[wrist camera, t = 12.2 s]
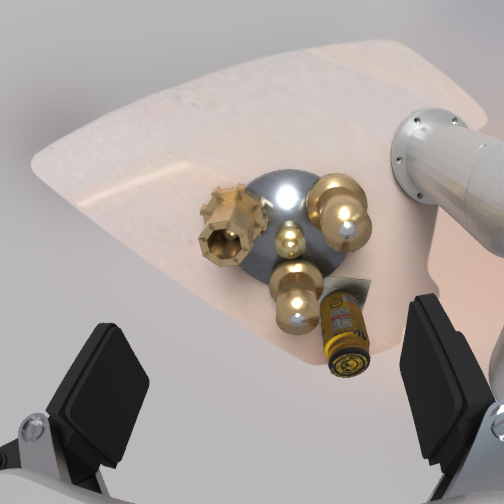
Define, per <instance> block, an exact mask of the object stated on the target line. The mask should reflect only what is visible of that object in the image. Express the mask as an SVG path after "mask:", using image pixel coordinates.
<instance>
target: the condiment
mask: <svg viewBox="0 0 504 504" xmlns="http://www.w3.org/2000/svg"><path fill="white" fill-rule="evenodd" d="M323 283H324V289H323V293H322V295H321V297H320V298H319V299H318V300H317V301H318V309H319V317H320V319H319V323H321V327H322V335H323V345H324V352H325V355H326V357H327V360H328V363H329V364H328V366H329V369H330V370H331V373H332V374H334V375H336V376H338V377H342V378H350V377H353V376H357V375H359V374H361V373H362V372H364V371H365V370H366V369H367V367H368V366H369V363H370V356H369V345H370V343H369V338H368V334H367V331H366V327H365V323H364V319H363V316H362V309H363V306H364V303H365V300H366V297H367V293H368V290H369V287H370V283H371V280H364V279H353V278H343V277H342V278H336V277H325V278H323ZM334 288H335V289H334ZM332 290H333V291H332ZM357 296H358V297H357Z"/></svg>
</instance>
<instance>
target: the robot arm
mask: <svg viewBox="0 0 504 504" xmlns="http://www.w3.org/2000/svg"><path fill="white" fill-rule="evenodd" d="M415 118H416V122H414V119H415ZM452 119H453V121H452ZM398 157H399V160H397V161H396V159H397V158H398ZM391 162H392V167H393V172H394V174H395V177H396V179H397V181H398V183H399V184H400V186H401V187H402V189H403V190H404V191H405V192H406V193H407V194H408V195H409V196H411V197H412V198H413V199H415V200H416V201H418V202H421V203H424V204H427V205H439V206H440V207H442V208H443V209H444V210H445V211H446V212H447V213H448V214H449V215H450V216H451V217H453V218H454V219H455V220H456V221H457V222H458V223H459V224H460V225H461V226H462V227H463V228H464V229H465V230H466V231H468V232H469V233H470V234H471V235H472V236H473V237H474V238H475V239H476V240H477V241H478V242H479V243H480V244H481V245H482V246H483V247H484V248H486V249H487V250H488V251H489V252H491V253H492V254H494V255H496V256H499V257H502V258H504V141H503V140H500V139H498V138H495V137H492V136H489V135H486V134H483V133H480V132H477V131H474V130H471V129H469V128H468V127H467V125H466V124H465V122H464V121H463V120H462V119H460V118H459V117H458V116H457V115H455V114H454V113H452V112H450V111H447V110H444V109H440V108H426V109H421V110H419V111H417V112H414V113H413V114H411V115H410V116H409V117H407V118H406V119H405V121H404V122H403V123H402V124H401V125H400V127H399V129H398V130H397V132H396V134H395V137H394V140H393V144H392V150H391ZM418 193H419V194H418ZM417 194H418V195H417ZM400 372H401V376H402V379H403V382H404V385H405V389H406V393H407V396H408V400H409V403H410V407H411V411H412V415H413V419H414V423H415V427H416V431H417V435H418V440H419V444H420V448H421V453H422V456H423V458H424V459H428V460H429V465H430V466H431V465H434V464H438V463H440V466H441V471H442V473H443V475H442V477H441V479H440V480H439V482H438V484H437V485H436V487H435V489H434V491H433V492H432V494H431V496H430V497H429V499H428V500H427V502H426V503H423V504H504V326H503V329H502V331H501V334H500V336H499V338H498V340H497V343H496V345H495V347H494V350H493V353H492V356H491V359H490V364H489V382H490V387H491V390H492V392H491V390H490V387H489V385H488V383H487V381H486V378H485V376H484V374H483V372H482V370H481V368H480V366H479V364H478V362H477V360H476V358H475V356H474V354H473V352H472V350H471V348H470V346H469V344H468V343H467V341H466V339H465V337H464V335H463V334H462V333H461V332H459V331H455V329H454V327H453V325H452V323H451V322H450V320H449V318H448V316H447V314H446V313H445V311H444V309H443V307H442V306H441V304H440V302H439V300H438V299H437V297H436V295H435V294H433V293H431V294H425V295H420V296H416V297H415V300H414V301H413V302H410V304H409V311H408V317H407V324H406V330H405V336H404V342H403V347H402V352H401V357H400ZM148 388H149V378H148V376H147V374H146V373H145V371H144V369H143V368H142V366H141V364H140V362H139V361H138V359H137V357H136V356H135V354H134V352H133V350H132V349H131V347H130V345H129V343H128V341H127V339H126V338H125V336H124V334H123V332H122V330H121V329H120V328H119V327H117V325H116V324H114V323H100V324H98V325H97V326H96V328H95V329H94V331H93V333H92V334H91V335H90V337H89V338H88V340H87V341H86V343H85V345H84V346H83V348H82V349H81V351H80V353H79V354H78V356H77V357H76V359H75V361H74V362H73V364H72V366H71V367H70V369H69V371H68V372H67V374H66V375H65V377H64V379H63V381H62V382H61V384H60V386H59V387H58V389H57V391H56V393H55V394H54V396H53V398H52V400H51V401H50V403H49V405H48V407H47V408H46V412H47V413H48V414H49V415H50V416H49V418H47V417H46V416H45V415H44V414H42V413H34V414H31V415H30V416H28V417H27V418H26V419H25V420H24V421H23V422H22V423H21V425H20V427H19V431H18V438H17V439H15V440H13V441H12V442H10V443H8V444H5V445H3V446H1V447H0V504H133V503H129V502H126V501H122V500H119V499H115V498H112V497H110V495H109V493H108V490H107V488H106V485H105V483H104V480H103V478H102V475H101V472H100V469H99V467H100V464H102V465H103V466H106V467H110V468H114V469H116V466H117V463H118V462H120V461H121V460H122V458H123V455H124V452H125V449H126V446H127V444H128V441H129V438H130V436H131V433H132V430H133V427H134V425H135V422H136V419H137V417H138V414H139V411H140V409H141V406H142V404H143V401H144V398H145V396H146V393H147V391H148ZM492 393H493V394H492ZM493 395H494V396H495V398H496V400H497V402H496V401H495V398H494V396H493Z"/></svg>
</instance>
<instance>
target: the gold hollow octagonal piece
mask: <svg viewBox="0 0 504 504" xmlns="http://www.w3.org/2000/svg"><path fill="white" fill-rule="evenodd" d="M211 194H212V196H213V197H212V199H211V200H210V202H209V203H208V205H205V204H204V205H203V206H202V208H201V211H200V215H202V216H203V217H204V221H205V227H204V228H203V230H202V232H201V234H200V236H199V238H198V239H199V243H200V247H201V251H202V254H203V256H204V257H205V258H207V259H208V260H210V261H211V262H213V263H215V264H216V265H218V266H219V267H222V266H232V265H239V264H240V263H241V262H242V260H243V259H244V258H245V257H246V256H247V254H248V253H249V252H250V250H251V246H253V245H254V243H255V238H256V237H257V236H258V234H259V233H260V232H261V231H262V230H264V231H266V228H267V223H268V220H267V219H264V213H263V207H264V204H265V201H264V199H263V198H262V196H261V197H259V198H258V197H256V196H255V195H254V194H252V193H251V192H249V191H248V190H246V189H245V185H244V184H240V183H238V186H237V187H232V188H225V189H221V188H220V186H219V187H217V188H216V189H214V190H213V192H212V193H211ZM226 228H228V229H229V230H231V231H232V232H234V233H235V234H237V235H238V237H237V238H236V239H233V240H230V239H227V238H226V237H225V236H224V235H223V229H226Z"/></svg>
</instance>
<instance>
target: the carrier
mask: <svg viewBox="0 0 504 504" xmlns="http://www.w3.org/2000/svg"><path fill="white" fill-rule="evenodd" d="M245 189H246V190H248V191H249V192H251V193H252V194H254V195H255V196H256V197H258V198H259V197H261V196H262V198H263V199H264V201H265V204H264V207H263V213H264V219H267V220H268V223H267V228H266V231H264V230H262V231H261V232H260V233H259V234H258V236H257V237H256V238H255V243H254V245H253V246H251V250H250V252H249V253H248V254H247V256H246V257H245V258H244V259H243V260H242V262H241V263H240V264H239V265H240V266H241V267H242V268H243V269H244V270H245V271H246V272H247V273H249V274H250V275H251V276H253V277H254V278H256V279H258V280H260V281H262V282H265V283H267V284H269V290H270V294H271V296H272V298H273V299H274V300H275V301H276V302H277V314H276V322H277V325H278V326H279V328H280V329H281V330H283V331H284V332H286V333H288V334H292V335H302V334H306V333H308V332H310V331H312V330H313V329H315V328H316V326H317V325H318V323H319V319H320V317H319V309H318V301H317V300H318V299H319V298H320V297H321V295H322V293H323V289H324V283H323V278H325V277H326V276H328V275H329V274H330V273H332V272H333V271H334V270H335V269H336V268H337V267H338V266H339V265H340V264H341V262H342V261H343V259H344V258H345V256H346V254H347V253H348V252H353V251H356V250H358V249H360V248H361V247H363V246H364V245H365V244H366V243H367V242H368V240H369V238H370V236H371V233H372V223H371V220H370V218H369V216H368V214H367V213H366V212H367V198H366V195H365V193H364V191H363V189H362V188H361V187H360V185H359V184H358V183H357V182H356V181H355V180H354V179H353V178H351V177H349V176H347V175H344V174H338V173H335V174H328V175H325V176H323V177H319V176H317V175H315V174H312V173H309V172H306V171H301V170H290V169H289V170H278V171H274V172H270V173H267V174H264V175H262V176H260V177H258V178H256V179H255V180H253V181H252V182H250V183H249V184H248V185H247V186H246V187H245ZM223 235H224V236H225V237H226V238H227V239H230V240H233V239H236V238H237V237H238V235H237V234H235V233H234V232H232V231H231V230H229V229H228V228H226V229H223Z"/></svg>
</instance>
